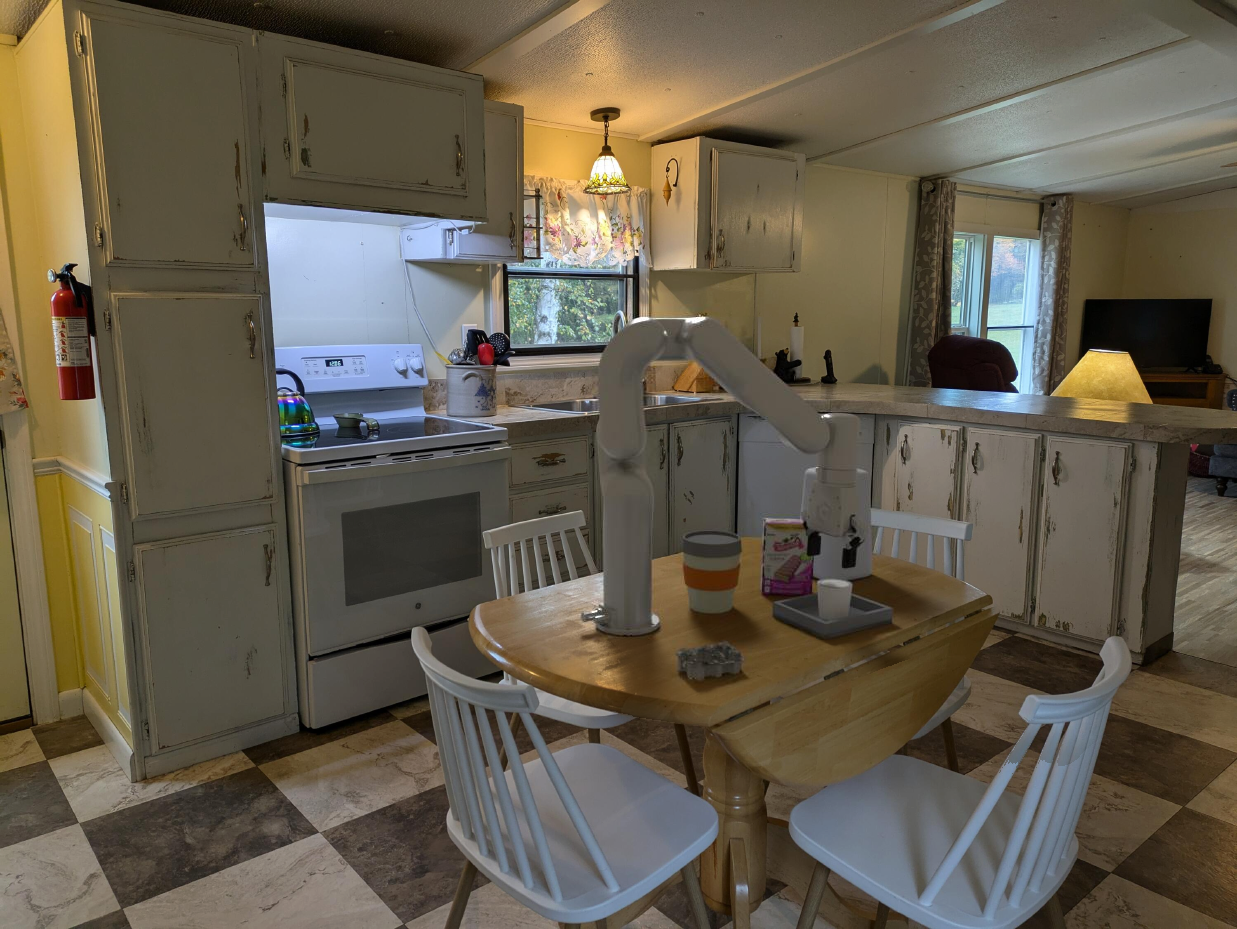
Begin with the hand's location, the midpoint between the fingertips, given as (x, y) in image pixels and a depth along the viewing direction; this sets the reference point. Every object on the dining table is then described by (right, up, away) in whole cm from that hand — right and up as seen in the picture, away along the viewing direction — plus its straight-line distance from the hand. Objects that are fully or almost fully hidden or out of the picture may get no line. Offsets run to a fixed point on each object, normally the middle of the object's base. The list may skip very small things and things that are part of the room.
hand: (830, 561), depth 168 cm
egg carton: (-27, -16, -23) cm, 39 cm away
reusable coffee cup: (-23, -11, +10) cm, 27 cm away
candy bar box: (-5, -9, +19) cm, 22 cm away
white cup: (+1, -11, +1) cm, 11 cm away
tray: (+1, -12, +2) cm, 12 cm away
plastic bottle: (+9, -7, +34) cm, 36 cm away
